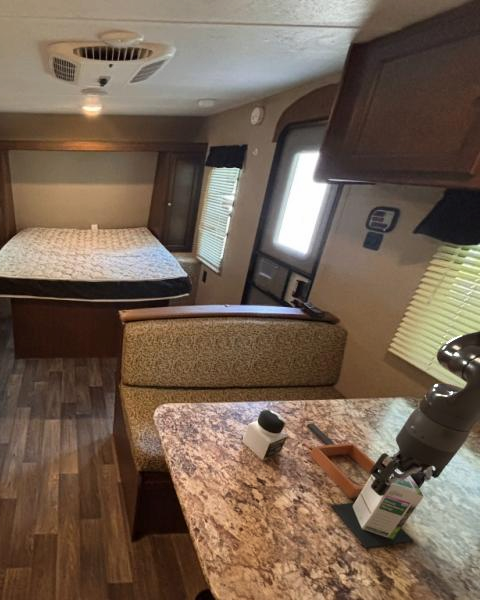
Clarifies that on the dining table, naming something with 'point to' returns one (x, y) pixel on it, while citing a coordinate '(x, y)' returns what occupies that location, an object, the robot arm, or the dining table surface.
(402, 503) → the syrup box
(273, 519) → the dining table surface
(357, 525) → the mat
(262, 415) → the medicine bottle
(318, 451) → the pan
